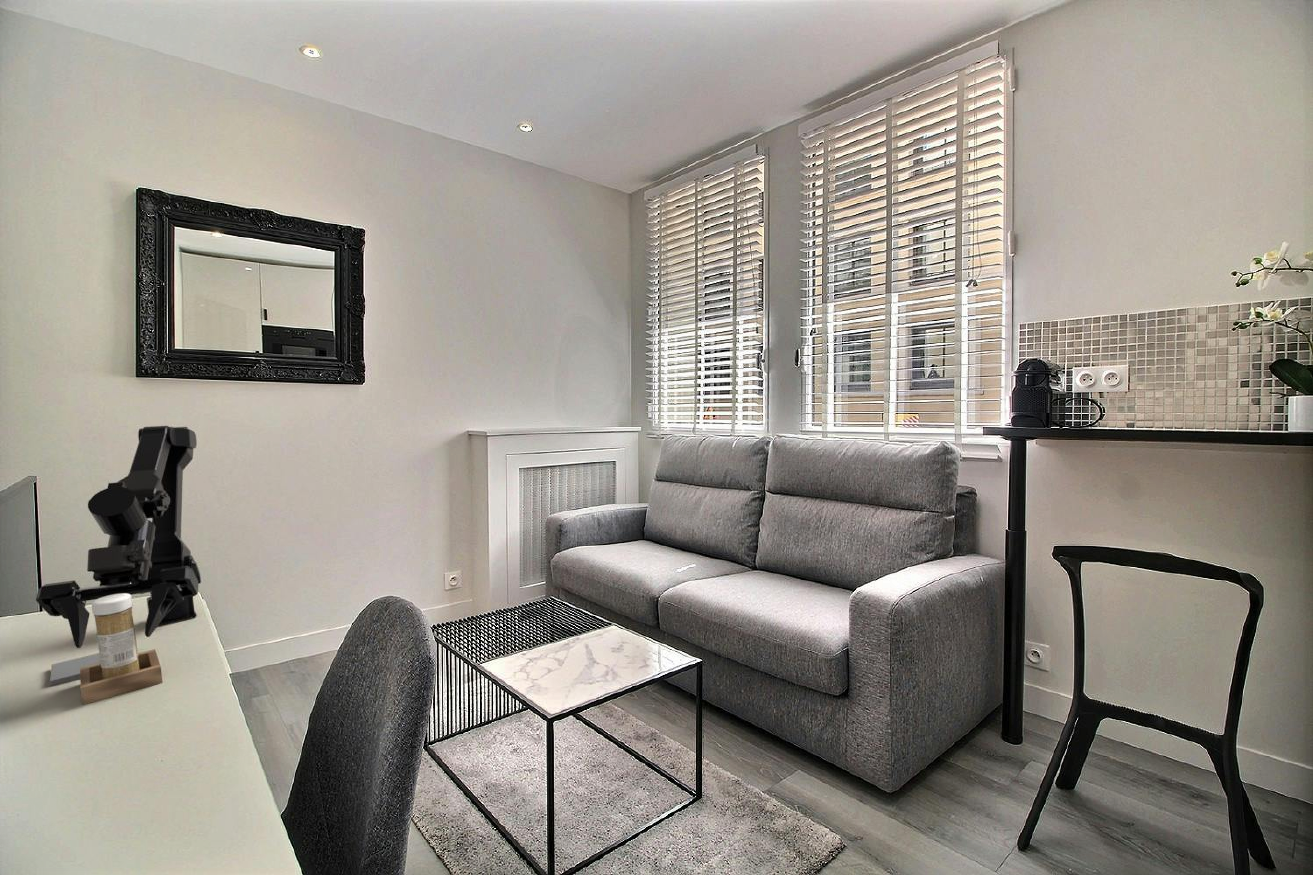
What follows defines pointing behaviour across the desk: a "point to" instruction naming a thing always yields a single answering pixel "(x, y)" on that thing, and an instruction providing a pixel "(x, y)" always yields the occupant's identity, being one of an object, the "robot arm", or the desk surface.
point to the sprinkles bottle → (116, 634)
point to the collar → (119, 679)
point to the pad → (71, 669)
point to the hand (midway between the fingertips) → (113, 641)
